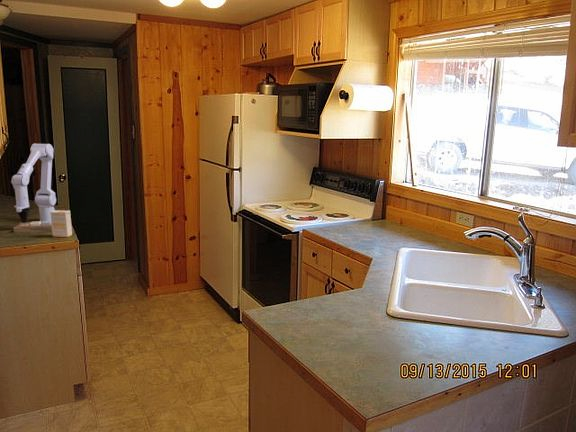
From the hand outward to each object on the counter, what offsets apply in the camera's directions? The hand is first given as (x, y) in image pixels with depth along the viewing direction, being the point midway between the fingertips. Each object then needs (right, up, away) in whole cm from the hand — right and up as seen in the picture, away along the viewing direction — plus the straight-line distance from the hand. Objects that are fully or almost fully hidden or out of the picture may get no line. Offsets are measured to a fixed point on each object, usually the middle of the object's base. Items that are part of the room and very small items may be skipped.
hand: (24, 222), depth 260 cm
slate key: (+11, -2, +3) cm, 11 cm away
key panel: (+5, -4, +2) cm, 7 cm away
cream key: (+5, -2, +1) cm, 6 cm away
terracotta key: (0, -3, +1) cm, 3 cm away
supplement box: (+26, -7, -11) cm, 29 cm away
